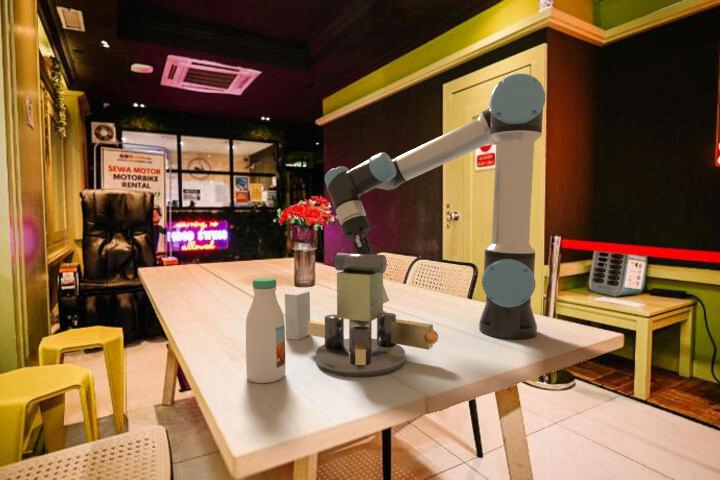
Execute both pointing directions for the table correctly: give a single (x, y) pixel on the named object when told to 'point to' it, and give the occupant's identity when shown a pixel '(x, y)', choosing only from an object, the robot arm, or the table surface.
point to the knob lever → (404, 333)
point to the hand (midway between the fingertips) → (384, 302)
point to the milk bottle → (265, 334)
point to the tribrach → (356, 321)
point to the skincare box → (297, 314)
